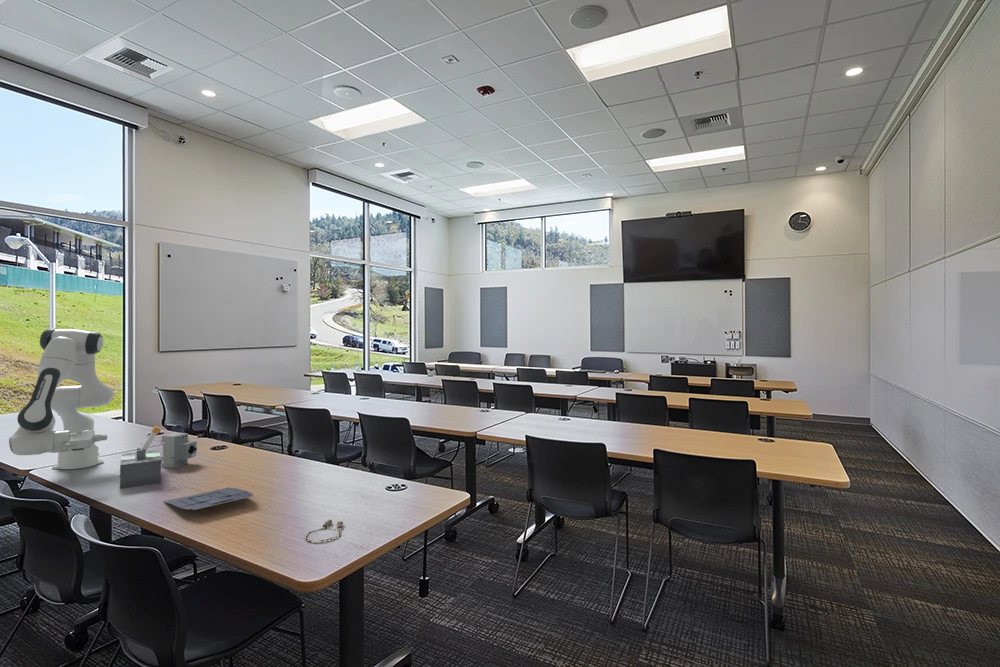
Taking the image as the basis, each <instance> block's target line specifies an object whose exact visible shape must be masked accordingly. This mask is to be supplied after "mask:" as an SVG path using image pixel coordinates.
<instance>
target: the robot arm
mask: <svg viewBox="0 0 1000 667" xmlns="http://www.w3.org/2000/svg"><path fill="white" fill-rule="evenodd" d="M39 347H41V348H42V350H43V353H42V355H41V358H40V361H39V364H38V370H37V381H36V384H35V387H34V390H33V391H32V395H31V397H30V400H29V402H28V403H27V404H26V405H25V406H24V407H23V408H22V409H21V410H20V411H19V412H18V415H17V423H18V426H19V427H18V428H17V430H16V431H15V432H14V433H13V434H12V435H11V436H10V437H9V440H8V444H9V448H10V451H11V452H12V453H13V454H14V455H16V456H35V455H36V456H37V455H42V454H46V453H51V454H56V453H57V463H55V464H54V465H53V466H52V469H54V470H58V469H59V470H77V469H78V470H79V469H83V468H84V469H85V468H89V467H93V466H96V465H100V464H104V460H103V459H102V458H101V456H100V453H99V446H98V445H97V444H96V442H101V441H107V440H108V434H96V433H95V432H96V431H95V421H94V419H93V418H92V417H91V416H89V415H87V414H84V413H80V412H79V411H78V410H79V409H84V408H85V409H86V408H98V407H103V406H107V405H109V404H111V402H112V401H113V399H114V396H115V394H114V390H113V388H112V387H111V386H109V385H107V384H106V383H104V382H102V381H101V379H100V378H98V375H97V372H96V371H97V370H96V354H98V353H100V351H101V350H102V348H103V347H104V337H103V335H102V334H101V333H99V332H96V331H88V330H83V329H76V328H75V329H74V328H73V329H68V328H67V329H66V328H47V329H45V330H43V331H42V332H41V334H40V337H39ZM68 379H69V380H70V381H72V382H75V383H78V384H80V385H62V386H61V385H60V384H61V383H63V382H64V381H66V380H68ZM59 385H60V386H59ZM53 411H54V413H56V414H58V415H59V417H60V419H61V421H62V424H63V429H62V430H54V428H55V425H56V417H55V416H54V414H53Z"/></svg>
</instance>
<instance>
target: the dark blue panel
mask: <svg viewBox="0 0 1000 667" xmlns="http://www.w3.org/2000/svg"><path fill="white" fill-rule="evenodd" d="M251 497H254V493H252V492H251V491H248V490H244V489H242V488H240V489H239V488H237V487H231V486H230V487H224V488H219V489H216V490H211V491H207V492H206V491H205V492H202V493H198V494H197V493H196V494H192V495H187V496H181V497H177V498H172V499H168V500H163V502H164V503H166V504H170V505H173V506H175V507H178V508H179V509H184V510H193V511H195V510H199V509H204V508H209V507H212V506H213V507H214V506H217V505H221V504H225V503H231V502H235V501H238V500H243V499H247V498H251Z"/></svg>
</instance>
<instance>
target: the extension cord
mask: <svg viewBox="0 0 1000 667" xmlns="http://www.w3.org/2000/svg"><path fill="white" fill-rule="evenodd" d="M332 523H333V520H332V519H327V521H325V522H324V524H323V525H322V527H323V528H324V527H326V526H328V527H330V526H331V525H332ZM336 524H337V527H336V528H337V529H338V528H339V530H338V531H339V532H338V535H339V536H340V533H341V529H342V528H343V524H344V522H343V521H337V523H336ZM341 527H342V528H341ZM326 528H327V527H326ZM340 528H341V529H340ZM338 535H336V536H334V537H331V538H327V539H323V540H322V539H321V540H319V541H321V542H324V540H326V541H328V540H329V539H330V540H332V538H335V537H336V538H337V536H338ZM307 540H309V541H312V540H311V539H308V538H307Z"/></svg>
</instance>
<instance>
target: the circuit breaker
mask: <svg viewBox="0 0 1000 667" xmlns="http://www.w3.org/2000/svg"><path fill="white" fill-rule="evenodd" d="M161 438H162V439H161V440H160V444H161V445H162V456H160V458H161V468H163V467H164V468H178V467H181V466H183V465H185V464H188V460H189V459H192V458H195V457H196V456H197V450H198V447H197V440H189V433H188V432H187V433H186V432H170V433H168V434H165V435H161Z"/></svg>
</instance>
